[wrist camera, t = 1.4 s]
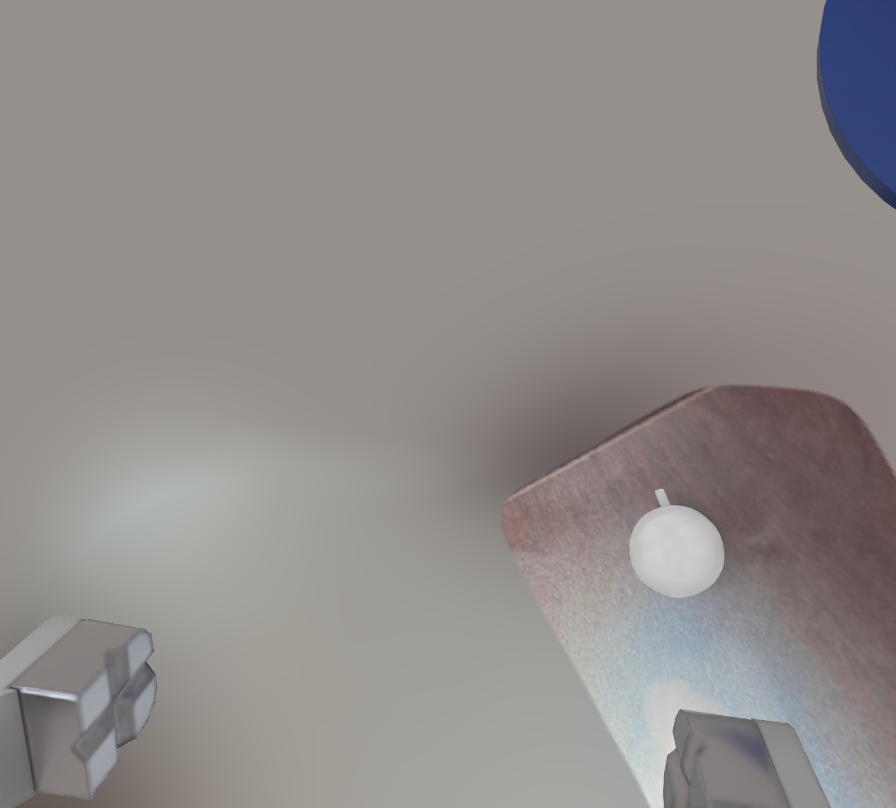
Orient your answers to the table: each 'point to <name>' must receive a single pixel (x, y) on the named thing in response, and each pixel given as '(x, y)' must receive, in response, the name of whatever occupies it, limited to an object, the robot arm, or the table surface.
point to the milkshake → (676, 550)
